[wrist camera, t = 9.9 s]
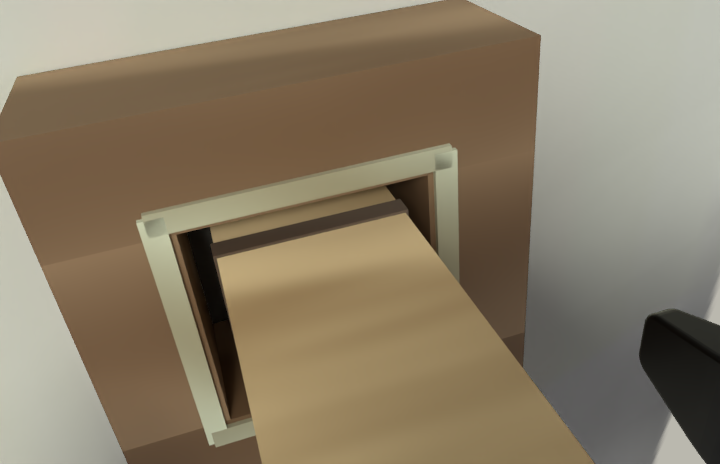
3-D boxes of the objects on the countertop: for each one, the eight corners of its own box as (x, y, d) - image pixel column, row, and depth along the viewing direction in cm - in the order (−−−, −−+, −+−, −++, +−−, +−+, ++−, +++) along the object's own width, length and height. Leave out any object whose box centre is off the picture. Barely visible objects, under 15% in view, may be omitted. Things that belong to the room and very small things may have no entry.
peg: (367, 266, 15) (589, 658, 8) (228, 302, 15) (332, 766, 7) (353, 137, 14) (624, 491, 6) (194, 172, 13) (287, 611, 6)
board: (464, 319, 17) (523, 402, 15) (147, 410, 16) (151, 521, 13) (460, -2, 13) (544, 36, 10) (17, 76, 11) (-14, 147, 9)
